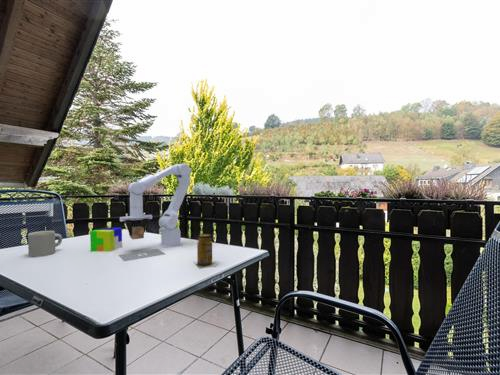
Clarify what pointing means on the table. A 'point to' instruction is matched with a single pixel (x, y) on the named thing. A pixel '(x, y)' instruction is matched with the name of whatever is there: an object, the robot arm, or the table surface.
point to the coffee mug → (42, 243)
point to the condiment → (204, 251)
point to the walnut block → (137, 232)
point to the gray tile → (141, 254)
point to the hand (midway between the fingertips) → (136, 234)
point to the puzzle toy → (106, 239)
